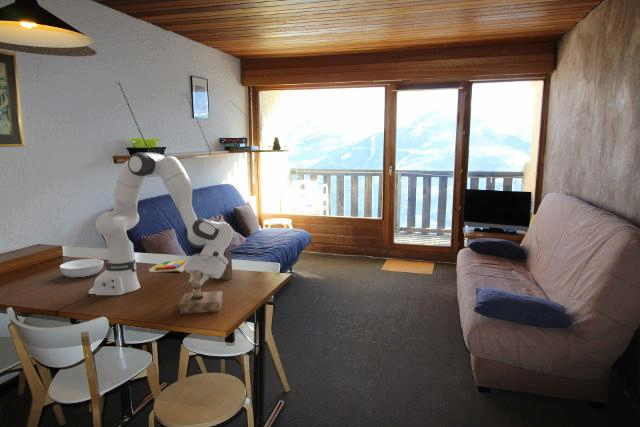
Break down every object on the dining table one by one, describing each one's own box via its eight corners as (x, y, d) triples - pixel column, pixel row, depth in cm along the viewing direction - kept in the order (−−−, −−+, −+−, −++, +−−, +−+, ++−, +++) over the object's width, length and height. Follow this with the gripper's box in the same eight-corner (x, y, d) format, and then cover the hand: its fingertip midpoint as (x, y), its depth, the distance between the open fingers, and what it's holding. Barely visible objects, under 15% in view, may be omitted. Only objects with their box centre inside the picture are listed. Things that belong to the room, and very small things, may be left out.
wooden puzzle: (162, 264, 258) (162, 258, 258) (193, 265, 256) (193, 259, 256) (148, 273, 241) (147, 267, 241) (180, 273, 239) (180, 267, 239)
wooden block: (227, 280, 224) (226, 245, 221) (212, 277, 229) (210, 243, 227) (232, 278, 227) (231, 244, 224) (218, 275, 232) (216, 242, 230)
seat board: (179, 313, 179) (179, 304, 179) (185, 301, 193) (185, 293, 192) (219, 311, 181) (219, 302, 181) (222, 299, 195) (222, 291, 194)
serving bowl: (99, 279, 230) (98, 266, 229) (55, 283, 225) (53, 270, 224) (108, 268, 250) (107, 257, 249) (67, 272, 245) (66, 260, 244)
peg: (191, 298, 184) (189, 272, 182) (193, 295, 188) (191, 270, 186) (201, 297, 185) (199, 272, 183) (202, 294, 188) (200, 269, 187)
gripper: (190, 249, 195) (174, 276, 188) (223, 254, 184) (207, 283, 177) (198, 256, 199) (183, 283, 193) (231, 262, 188) (216, 290, 182)
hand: (195, 283), depth 185 cm, fingers closed on peg, 4 cm apart
